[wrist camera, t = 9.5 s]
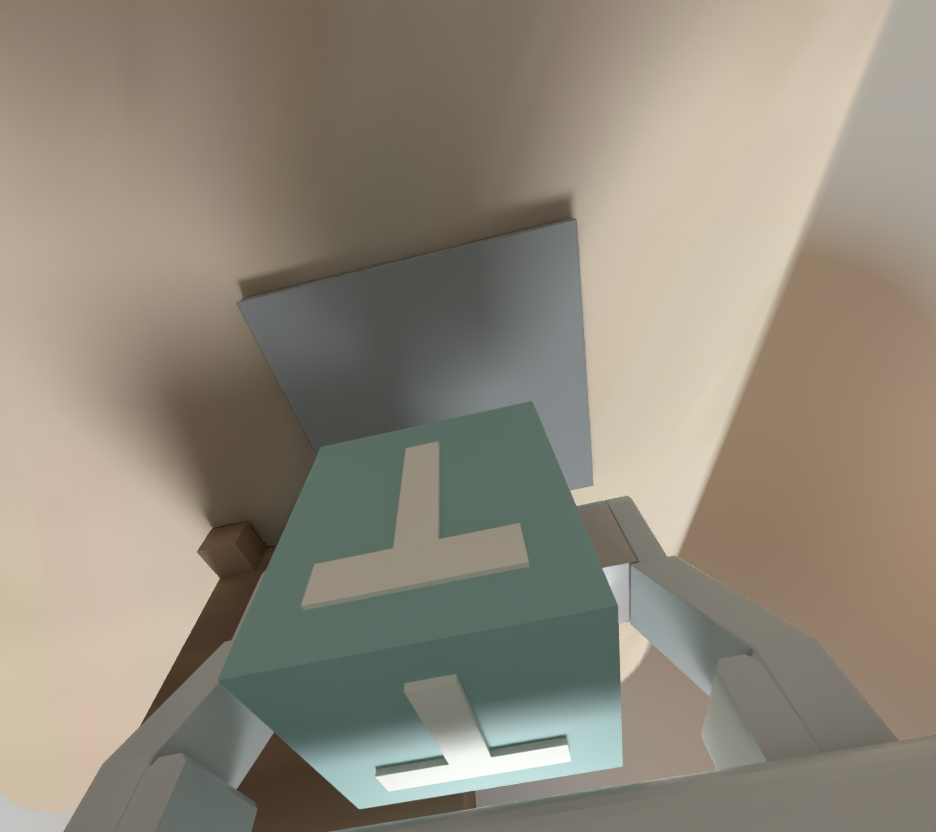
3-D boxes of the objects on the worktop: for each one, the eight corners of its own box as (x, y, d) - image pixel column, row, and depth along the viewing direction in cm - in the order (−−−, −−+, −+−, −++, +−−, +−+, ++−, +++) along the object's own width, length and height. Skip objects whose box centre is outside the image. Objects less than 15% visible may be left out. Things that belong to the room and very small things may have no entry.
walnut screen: (211, 528, 17) (-25, 897, 8) (441, 480, 16) (445, 822, 8) (267, 598, 19) (133, 933, 11) (467, 558, 19) (492, 879, 10)
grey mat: (243, 298, 12) (236, 302, 11) (571, 218, 11) (576, 219, 11) (360, 524, 17) (358, 533, 17) (589, 477, 17) (593, 485, 16)
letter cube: (318, 443, 9) (208, 685, 5) (531, 396, 9) (622, 609, 4) (388, 580, 12) (357, 816, 7) (554, 547, 11) (625, 773, 7)
